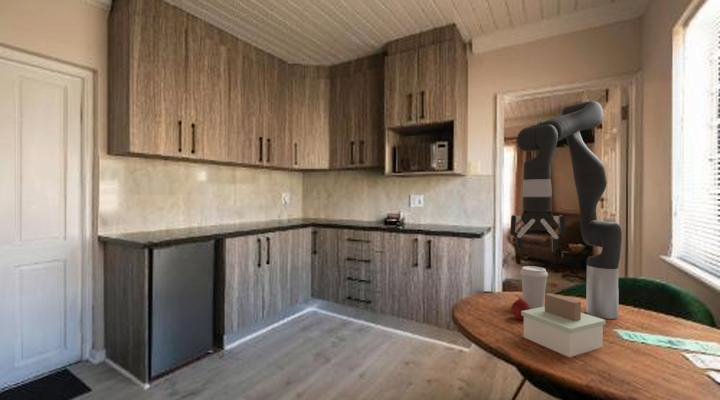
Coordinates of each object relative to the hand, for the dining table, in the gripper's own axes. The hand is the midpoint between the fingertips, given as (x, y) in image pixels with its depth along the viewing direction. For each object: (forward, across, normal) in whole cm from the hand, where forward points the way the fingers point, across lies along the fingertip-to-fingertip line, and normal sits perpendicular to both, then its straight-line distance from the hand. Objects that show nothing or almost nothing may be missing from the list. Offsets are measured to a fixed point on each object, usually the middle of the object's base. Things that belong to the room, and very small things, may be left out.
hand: (536, 251), depth 101 cm
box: (+26, -6, 0) cm, 27 cm away
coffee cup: (+27, -2, -31) cm, 41 cm away
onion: (+27, +3, -16) cm, 31 cm away
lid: (+19, -6, 0) cm, 20 cm away
